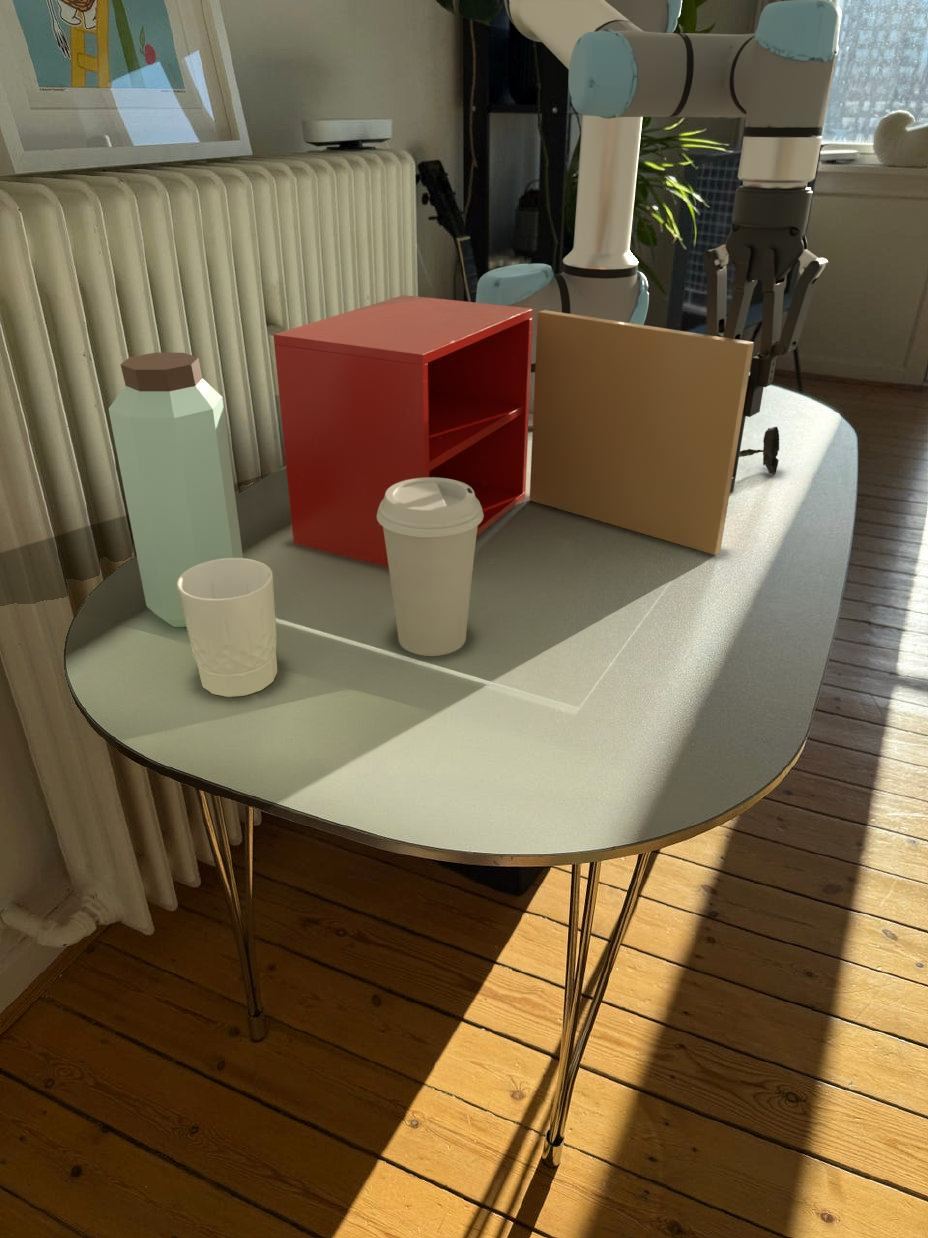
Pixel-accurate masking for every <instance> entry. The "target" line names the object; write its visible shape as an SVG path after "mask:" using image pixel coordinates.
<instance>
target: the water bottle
mask: <svg viewBox="0 0 928 1238" xmlns="http://www.w3.org/2000/svg"><path fill="white" fill-rule="evenodd" d="M120 368H121V373H122V378H123V382H124V385H125V386H124V387H123V389H122V390H121V391H120V392H119V393H118V395H117V396H116V398H115V399H114V400H113V402H112V403H111V404H110V406H109V407H108V414H109V419H110V424H111V429H112V430H111V431H112V435H113V440H114V441H113V442H114V446H115V451H116V457H117V460H118V465H119V466H118V467H119V471H120V476H121V480H122V481H121V482H122V487H123V491H124V497H125V502H126V507H127V513H128V518H129V523H130V528H131V534H132V539H133V543H134V550H135V554H136V559H137V565H138V570H139V575H140V580H141V586H142V589H143V596H144V602H145V605H146V607H147V609H149V611H151V612H152V613H154V615H155V616H157V617H158V618H159V619H161V620H163V621H164V622H165V623H167V624H169V625H170V626H171V627H174V628H187V626H186V622H185V618H184V614H183V609H182V605H181V600H180V596H179V592H178V587H177V581H178V579H179V577H180V576H181V575H182V574H183V573H184V572H185V571H186V570H188V569H190V568H191V567H193V566H196V565H198V564H201V563H204V562H207V561H211V560H216V559H223V558H244V555H243V546H242V537H241V531H240V523H239V516H238V509H237V508H238V507H237V500H236V492H235V483H234V477H233V468H232V461H231V454H230V453H231V452H230V445H229V438H228V430H227V422H226V421H227V420H226V415H225V406H224V398H223V396H222V395H221V394H220V393H219V392H218V391H217V390H216V389H215V388H213V386H211V385H210V384H209V383H208V382H207V381H206V380H205V379H204V378H203V374H202V369H201V363H200V358H199V357H198V356H196V355H192V354H189V353H186V352H151V353H147V354H146V353H145V354H140V355H136V356H129V357H127V359H125V360H124V361H123V362H121V363H120Z"/></svg>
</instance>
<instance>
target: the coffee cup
mask: <svg viewBox="0 0 928 1238" xmlns="http://www.w3.org/2000/svg"><path fill="white" fill-rule="evenodd" d="M483 517H484V514H483V511H482V507H481V505H480V502H479V501H478V499H477V498H476V497H475V493H474V490H473V489H472V488H471V487H470V486H468V485H467V484H465V483H462V482H460V481H456V480H452V479H447V478H435V477H426V478H415V479H409V480H405V481H401V482H399V483H396V484H394V485H392V486H391V487H389V488H388V489H387V491H386V493H385V497H384V499H383V500H382V501H381V503H380V506H379V508H378V512H377V520H378V522H379V523H380V524H381V525H382V526H383V530H384V537H385V544H386V551H387V558H388V565H389V567H388V572H389V579H390V586H391V594H392V601H393V602H392V603H393V608H394V609H393V610H394V616H395V623H396V632H397V638H398V643H399V645H400V646H401V647H402V648H403V649H404V650H405V651H407V652H410V653H412V654H415V655H419V656H425V657H426V656H427V657H437V656H443V655H448V654H451V653H454V652H456V651H458V650H460V649H462V647H463V646H464V645H465V643H466V640H467V630H468V622H469V610H470V602H471V590H472V583H473V572H474V561H475V553H476V543H477V537H476V535H477V527H478V525H479V524H480V523H481V522H482V520H483Z"/></svg>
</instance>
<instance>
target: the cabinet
mask: <svg viewBox="0 0 928 1238" xmlns="http://www.w3.org/2000/svg"><path fill="white" fill-rule="evenodd" d="M532 317H533V309H531V308H522V307H512V306H503V305H493V304H484V303H476V302H473V301H465V300H455V299H446V298H437V297H435V298H434V297H424V296H417V295H416V296H415V295H407V294H403V295H398V296H396V297H392V298H389V299H385V300H382V301H379V302H376V303H373V304H369V305H366V306H362V307H360V308H356V309H353V310H349V311H346V312H343V313H340V314H336V315H333V316H330V317H326V318H323V319H320V320H317V321H313V322H310V323H307V324H303V325H301V326H297V327H294V328H290V329H286V330H284V331H281V332H277V333H274V334H273V335H272V336H273V346H274V356H275V357H274V358H275V366H276V377H277V387H278V396H279V408H280V417H281V418H280V419H281V428H282V437H283V448H284V459H285V460H284V461H285V468H286V480H287V489H288V500H289V510H290V511H289V512H290V519H291V520H290V521H291V531H292V539H293V544H294V545H297V546H301V547H306V548H310V549H314V550H318V551H321V552H325V553H330V554H334V555H336V556H337V555H338V556H342V557H346V558H350V559H353V560H357V561H362V562H366V563H370V564H374V565H378V566H381V567H384V568H385V567H386V568H389V565H388V558H387V551H386V544H385V537H384V530H383V526H382V525H381V524H380V523H379V522H378V520H377V512H378V508H379V506H380V503H381V501H382V500H383V499H384V497H385V493H386V491H387V489H388V488H389V487H391V486H392V485H394V484H396V483H399V482H401V481H405V480H409V479H415V478H426V477H435V478H447V479H452V480H456V481H460V482H462V483H465V484H467V485H468V486H470V487H471V488H472V489H473V490H474V493H475V497H476V498H477V499H478V501H479V502H480V505H481V507H482V511H483V514H484V517H483V520H482V522H481V523H480V524H479V525H478V527H477V535H476V538H477V537H479V536H480V535H481V534H482V533H483V532H484V531H486V530H487V529H488V528H490V527H491V526H493V524H495V523H496V522H498V521H499V520H500V519H501V518H502V517H503V516H505V515H506V514H508V513H509V512H510V511H511V510H512V509H513V508H515V507H516V506H517V505H518V504H520V503H521V502H523V500H524V499H526V491H527V489H526V488H527V469H528V467H527V466H528V446H529V445H528V442H529V430H528V421H529V397H530V373H531V349H532V325H533V318H532Z"/></svg>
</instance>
